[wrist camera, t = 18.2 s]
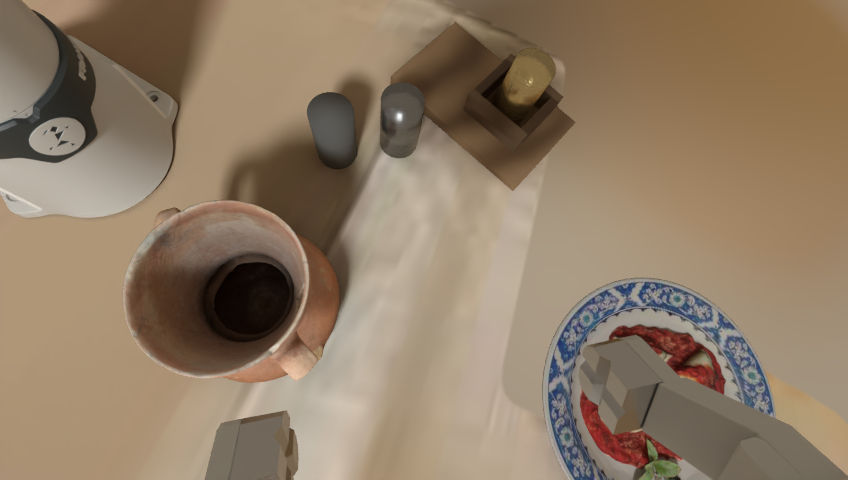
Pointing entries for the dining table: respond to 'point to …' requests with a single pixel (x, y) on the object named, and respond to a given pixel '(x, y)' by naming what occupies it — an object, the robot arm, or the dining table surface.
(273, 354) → the ceramic jug
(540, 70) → the translucent yellow cylinder
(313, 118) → the grey rounded cylinder
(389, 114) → the dark steel roller
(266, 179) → the dining table surface
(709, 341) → the ceramic plate
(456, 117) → the socket board
